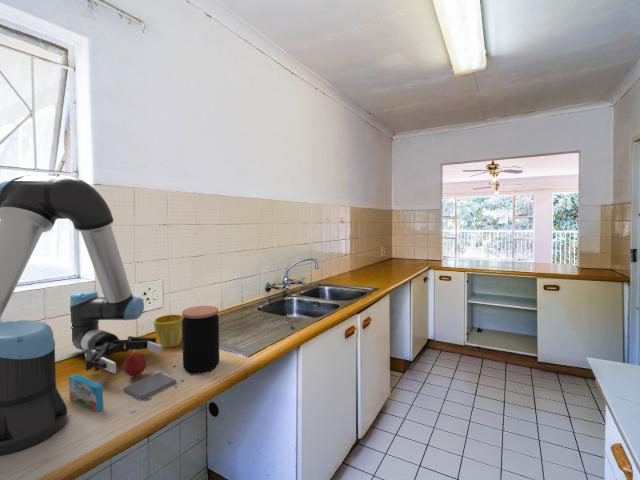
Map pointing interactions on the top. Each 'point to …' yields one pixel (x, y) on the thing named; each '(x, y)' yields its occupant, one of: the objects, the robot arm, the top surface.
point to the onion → (134, 364)
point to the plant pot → (169, 329)
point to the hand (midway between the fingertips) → (139, 358)
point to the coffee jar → (200, 339)
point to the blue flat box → (86, 392)
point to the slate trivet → (149, 386)
